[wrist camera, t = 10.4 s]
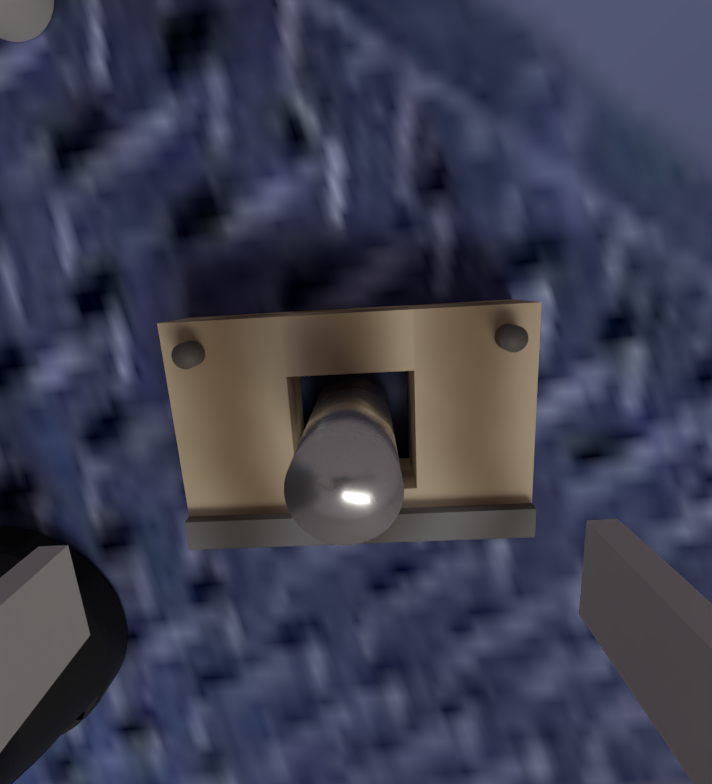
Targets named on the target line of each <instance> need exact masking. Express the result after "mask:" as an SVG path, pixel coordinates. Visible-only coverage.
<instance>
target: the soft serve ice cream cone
mask: <svg viewBox="0 0 712 784" xmlns="http://www.w3.org/2000/svg"><path fill="white" fill-rule="evenodd" d="M53 10H54V0H0V38H1V39H4V40H7V41H11V42H23V41H28V40H31V39H33V38H35V37H37V36H38V35H39V34H41V33H42V32H43V31H44V29H45V28H46V27H47V25H48V23H49V22H50V20H51V17H52V13H53Z"/></svg>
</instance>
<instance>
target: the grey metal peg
mask: <svg viewBox="0 0 712 784" xmlns="http://www.w3.org/2000/svg"><path fill="white" fill-rule="evenodd" d="M284 497H285V502H286V505H287V508H288V510H289V512H290V514H291V516H292V518H293V519H294V521H295V522H296V523H297V524H298V525H299V526H300V527H301V528H302V529H303V530H304V531H305V532H307V533H308V534H310V535H311V536H313V537H315V538H317V539H319V540H321V541H324V542H327V543H331V544H338V545H352V544H359V543H363V542H366V541H369V540H371V539H373V538H375V537H377V536H378V535H380V534H382V533H383V532H384V531H385V530H386V529H388V528H389V527H390V525H391V524H392V523H393V522H394V520H395V519H396V518H397V516H398V514H399V512H400V509H401V507H402V503H403V498H404V485H403V478H402V473H401V468H400V462H399V457H398V452H397V446H396V441H395V436H394V430H393V425H392V420H391V414H390V409H389V404H388V400H387V398H386V396H385V394H384V392H383V391H382V390H381V388H380V387H379V386H378V385H376V384H375V383H374V382H372V381H370V380H369V379H366V378H363V377H360V376H344V377H340V378H338V379H335V380H334V381H332V382H330V383H329V384H328V385H327V386H326V387H325V388H324V389H323V390H322V391H321V393H320V395H319V396H318V399H317V401H316V404H315V406H314V408H313V411H312V413H311V416H310V418H309V420H308V423H307V425H306V428H305V430H304V432H303V435H302V437H301V439H300V442H299V444H298V447H297V449H296V451H295V454H294V456H293V459H292V461H291V463H290V466H289V468H288V471H287V473H286V477H285V481H284Z"/></svg>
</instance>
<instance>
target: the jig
mask: <svg viewBox="0 0 712 784" xmlns="http://www.w3.org/2000/svg"><path fill="white" fill-rule="evenodd" d="M540 323H541V302H534V301H524V300H514V299H510V300H492V301H474V302H456V303H438V304H420V305H402V306H384V307H366V308H348V309H330V310H312V311H294V312H276V313H258V314H240V315H222V316H204V317H189V318H184V319H178V320H173V321H168V322H162V323H157V326H158V332H159V338H160V344H161V350H162V356H163V362H164V368H165V374H166V380H167V386H168V392H169V398H170V404H171V410H172V416H173V422H174V428H175V434H176V440H177V446H178V452H179V458H180V464H181V470H182V476H183V482H184V487H185V493H186V499H187V505H188V511H189V518H188V519H187V520H186V522H185V527H186V533H187V539H188V545H189V550H198V549H225V548H252V547H279V546H306V545H333V544H331V543H327V542H324V541H321V540H319V539H317V538H315V537H313V536H311V535H310V534H308V533H307V532H305V531H304V530H303V529H302V528H301V527H300V526H299V525H298V524H297V523H296V522H295V521H294V519H293V518H292V516H291V514H290V512H289V510H288V508H287V505H286V502H285V497H284V481H285V477H286V473H287V471H288V468H289V466H290V463H291V461H292V459H293V456H294V454H295V451H296V449H297V447H298V444H299V442H300V439H301V437H302V435H303V432H304V430H305V426H304V415H303V404H302V393H301V381H300V376H316V375H336V374H356V373H376V372H395V371H407V394H408V430H409V458H399V462H400V468H401V473H402V478H403V485H404V498H403V503H402V507H401V509H400V512H399V514H398V516H397V518H396V519H395V520H394V522H393V523H392V524H391V525H390V527H389V528H388V529H386V530H385V531H384V532H383V533H382V534H380V535H378V536H377V537H375V538H373V539H371V540H369V541H366V542H363V543H387V542H415V541H442V540H469V539H496V538H523V537H535V523H536V508H535V507H534V505H533V504H532V487H533V466H534V446H535V425H536V405H537V384H538V364H539V343H540ZM359 544H360V543H359Z"/></svg>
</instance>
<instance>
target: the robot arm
mask: <svg viewBox="0 0 712 784" xmlns="http://www.w3.org/2000/svg"><path fill="white" fill-rule="evenodd" d="M579 614H580V616H581V617H582V619H583V620H584V622H585V623H586V625H587V626H588V628H589V629H590V631H591V632H592V634H593V635H594V637H595V638H596V640H597V641H598V643H599V644H600V646H601V647H602V649H603V650H604V652H605V653H606V655H607V656H608V658H609V659H610V660H611V662H612V663H613V665H614V666H615V668H616V669H617V671H618V672H619V674H620V675H621V677H622V678H623V680H624V681H625V683H626V684H627V686H628V687H629V689H630V690H631V692H632V693H633V695H634V696H635V698H636V699H637V701H638V702H639V704H640V705H641V706H642V708H643V709H644V711H645V712H646V714H647V715H648V717H649V718H650V720H651V721H652V723H653V724H654V726H655V727H656V729H657V730H658V732H659V733H660V735H661V736H662V738H663V739H664V741H665V742H666V744H667V745H668V747H669V748H670V749H671V751H672V752H673V754H674V755H675V757H676V758H677V760H678V761H679V763H680V764H681V766H682V767H683V769H684V770H685V772H686V773H687V775H688V776H689V778H690V779H691V781H692V782H693V784H712V603H711V602H709V601H708V600H707V599H706V598H705V597H704V596H703V595H702V594H700V593H699V592H698V591H697V590H696V589H695V588H694V587H693V586H692V585H690V584H689V583H688V582H687V581H686V580H685V579H684V578H683V577H682V576H680V575H679V574H678V573H677V572H676V571H675V570H674V569H673V568H672V567H670V566H669V565H668V564H667V563H666V562H665V561H664V560H663V559H662V558H660V557H659V556H658V555H657V554H656V553H655V552H654V551H653V550H652V549H650V548H649V547H648V546H647V545H646V544H645V543H644V542H643V541H642V540H640V539H639V538H638V537H637V536H636V535H635V534H634V533H633V532H632V531H630V530H629V529H628V528H627V527H626V526H625V525H624V524H623V523H621V522H620V521H619V520H618V519H610V520H588V521H587V524H586V536H585V548H584V560H583V572H582V584H581V596H580V607H579ZM126 649H127V627H126V622H125V618H124V614H123V611H122V608H121V606H120V603H119V601H118V599H117V597H116V595H115V594H114V592H113V590H112V589H111V587H110V586H109V584H108V583H107V582H106V580H105V579H104V578H103V577H102V575H101V574H100V573H99V572H98V571H97V570H96V569H95V568H94V567H93V566H92V565H91V564H90V563H89V562H88V561H86V560H85V559H84V558H83V557H81V556H80V555H79V554H77V553H76V552H74V551H73V550H71V549H70V548H69V547H68V545H63V544H61V543H59V542H57V541H55V540H53V539H51V538H49V537H46V536H44V535H41V534H38V533H35V532H32V531H28V530H24V529H19V528H14V527H6V526H0V784H12V783H13V782H14V781H15V780H16V779H18V778H19V777H20V776H21V775H22V774H23V773H24V772H25V771H26V770H27V769H28V768H29V767H31V766H32V765H33V764H34V763H35V762H36V761H37V760H38V759H39V758H40V757H41V756H42V755H43V754H44V753H45V752H46V751H47V750H48V749H49V748H50V747H51V745H52V744H53V743H54V742H55V741H56V740H57V739H58V738H59V737H60V736H61V735H62V734H64V733H66V732H67V731H69V730H71V729H72V728H73V727H75V726H76V725H77V724H79V723H80V722H81V721H82V720H83V719H84V718H85V717H86V716H87V715H88V714H89V713H90V712H91V711H92V710H93V709H94V708H95V706H96V705H97V704H98V703H99V701H100V700H101V698H102V697H103V695H104V694H105V692H106V691H107V689H108V687H109V686H110V684H111V683H112V681H113V680H114V678H115V677H116V675H117V673H118V672H119V670H120V668H121V666H122V663H123V661H124V657H125V654H126Z"/></svg>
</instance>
